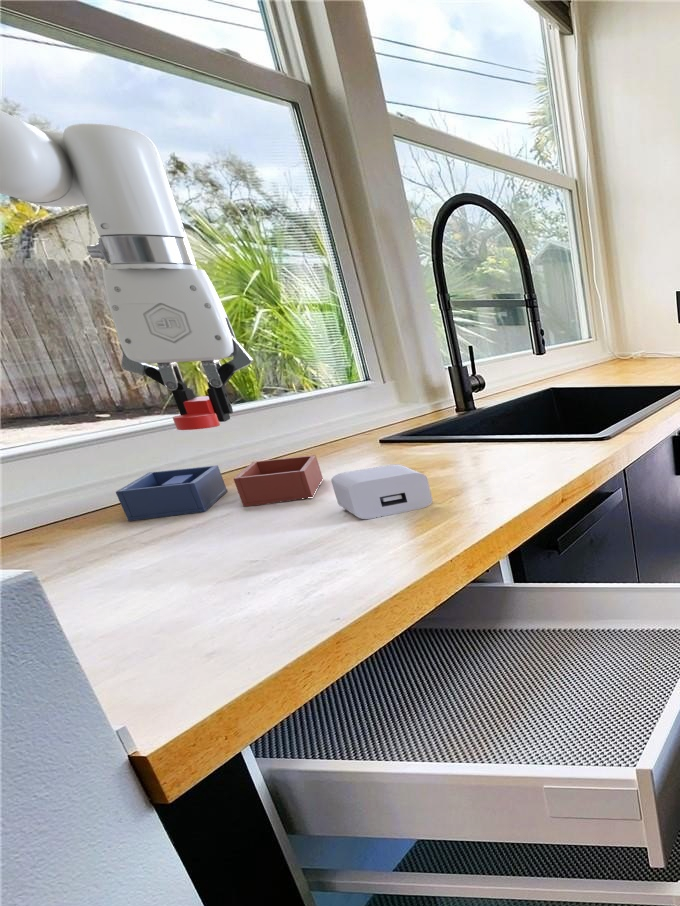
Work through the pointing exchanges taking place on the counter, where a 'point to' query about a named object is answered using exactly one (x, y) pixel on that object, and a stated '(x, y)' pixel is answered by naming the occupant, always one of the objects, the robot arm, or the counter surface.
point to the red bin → (278, 480)
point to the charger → (381, 491)
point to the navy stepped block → (180, 480)
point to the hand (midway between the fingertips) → (209, 420)
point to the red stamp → (197, 415)
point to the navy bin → (171, 493)
